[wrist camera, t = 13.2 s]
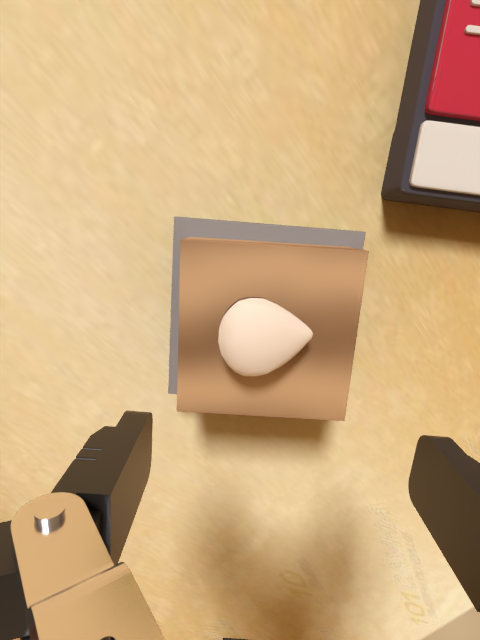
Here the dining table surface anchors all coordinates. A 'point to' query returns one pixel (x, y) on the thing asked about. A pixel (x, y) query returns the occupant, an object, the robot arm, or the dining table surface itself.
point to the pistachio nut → (260, 336)
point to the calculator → (439, 111)
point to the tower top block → (288, 292)
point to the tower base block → (241, 232)
